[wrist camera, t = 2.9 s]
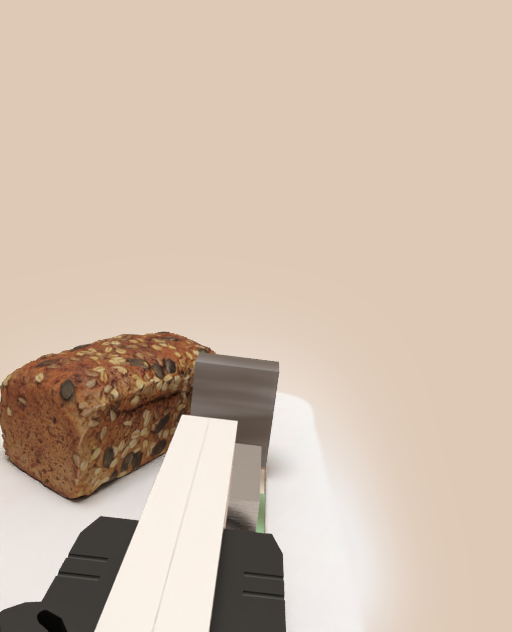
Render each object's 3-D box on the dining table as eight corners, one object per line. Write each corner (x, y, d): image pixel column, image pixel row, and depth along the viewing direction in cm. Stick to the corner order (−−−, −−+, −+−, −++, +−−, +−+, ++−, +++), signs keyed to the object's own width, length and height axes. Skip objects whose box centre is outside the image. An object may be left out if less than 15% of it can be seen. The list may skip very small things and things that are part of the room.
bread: (76, 513, 34) (79, 388, 32) (-7, 459, 40) (-9, 348, 37) (222, 425, 50) (232, 337, 48) (149, 394, 55) (155, 313, 53)
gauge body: (259, 721, 22) (289, 540, 20) (112, 704, 22) (123, 519, 20) (264, 464, 43) (278, 361, 41) (189, 455, 43) (199, 352, 41)
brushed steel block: (269, 674, 23) (295, 517, 21) (132, 658, 23) (143, 499, 21) (269, 580, 29) (289, 449, 26) (159, 567, 28) (170, 435, 26)
